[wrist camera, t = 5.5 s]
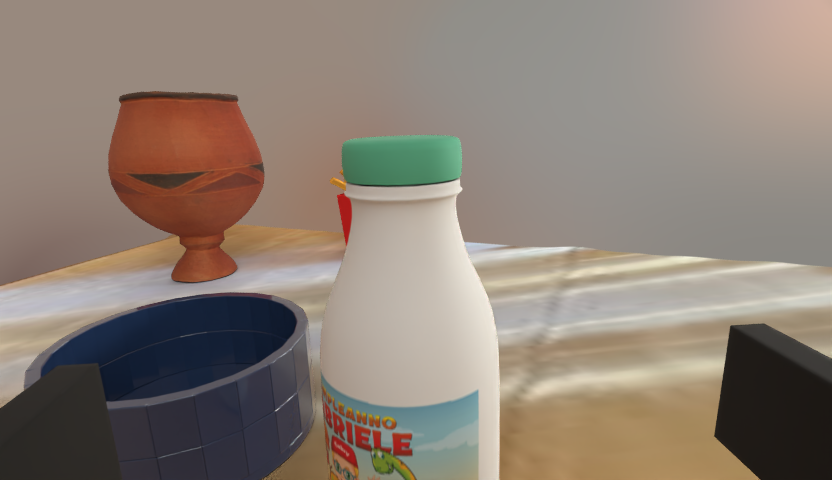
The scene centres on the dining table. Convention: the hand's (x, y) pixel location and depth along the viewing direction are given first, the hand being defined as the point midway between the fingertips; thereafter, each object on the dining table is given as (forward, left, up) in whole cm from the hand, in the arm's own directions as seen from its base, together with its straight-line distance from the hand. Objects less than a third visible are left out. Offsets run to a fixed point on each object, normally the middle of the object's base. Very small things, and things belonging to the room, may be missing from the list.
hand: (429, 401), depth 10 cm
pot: (+26, +1, -15) cm, 30 cm away
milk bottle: (+8, -5, -15) cm, 18 cm away
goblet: (+64, -9, -15) cm, 67 cm away
